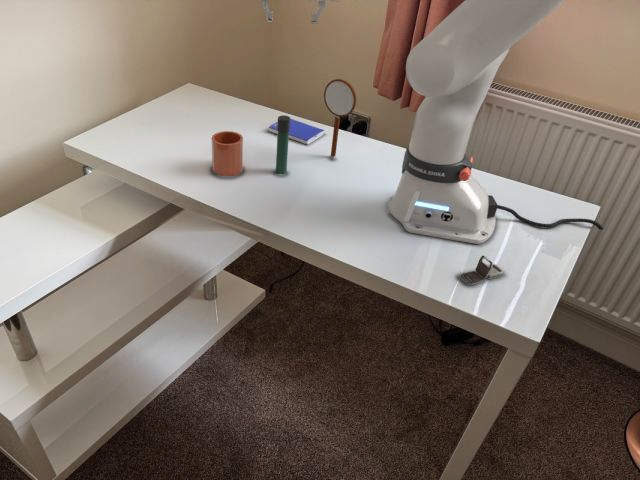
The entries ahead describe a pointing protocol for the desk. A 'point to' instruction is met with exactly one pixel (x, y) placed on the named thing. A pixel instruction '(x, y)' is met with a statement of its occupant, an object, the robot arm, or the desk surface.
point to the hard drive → (300, 131)
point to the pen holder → (227, 153)
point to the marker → (282, 144)
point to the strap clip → (482, 272)
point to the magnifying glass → (339, 104)
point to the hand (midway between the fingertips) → (291, 22)
